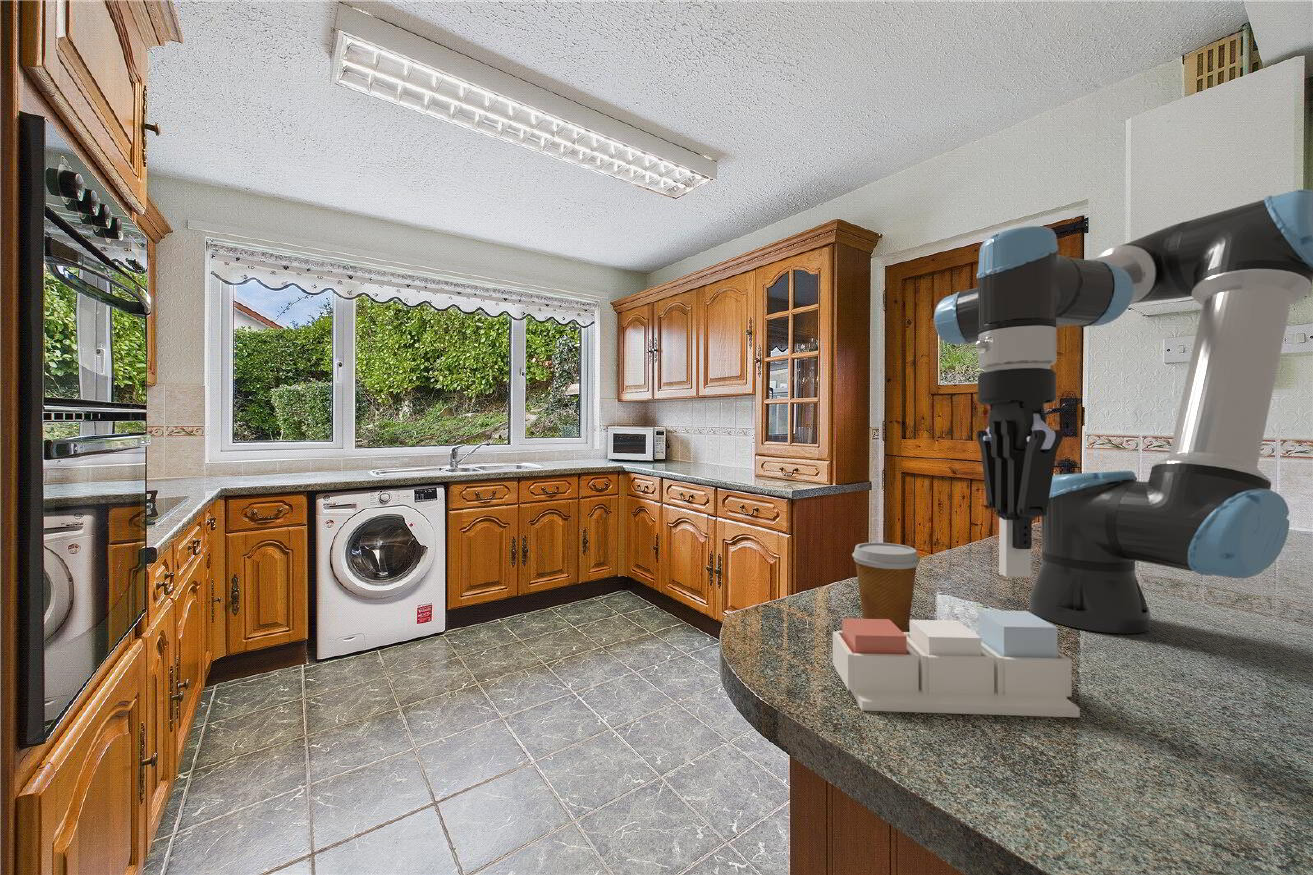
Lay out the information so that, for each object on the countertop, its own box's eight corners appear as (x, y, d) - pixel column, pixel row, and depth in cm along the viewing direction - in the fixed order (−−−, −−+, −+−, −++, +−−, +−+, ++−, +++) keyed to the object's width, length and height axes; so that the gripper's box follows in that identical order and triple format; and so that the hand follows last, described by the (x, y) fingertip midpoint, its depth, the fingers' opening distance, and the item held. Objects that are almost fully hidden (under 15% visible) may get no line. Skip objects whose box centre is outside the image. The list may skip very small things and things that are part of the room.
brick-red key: (889, 652, 67) (889, 619, 67) (906, 672, 61) (906, 636, 61) (842, 650, 67) (842, 618, 67) (855, 670, 62) (855, 635, 62)
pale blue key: (1026, 644, 66) (1026, 611, 66) (1057, 664, 60) (1057, 627, 60) (978, 643, 66) (978, 610, 66) (1003, 662, 60) (1004, 626, 60)
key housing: (1020, 668, 69) (1020, 628, 69) (1087, 717, 57) (1087, 669, 57) (828, 663, 71) (827, 624, 71) (854, 710, 59) (854, 663, 59)
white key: (957, 653, 66) (957, 620, 66) (981, 674, 61) (981, 638, 61) (909, 652, 67) (909, 619, 67) (929, 672, 61) (928, 636, 61)
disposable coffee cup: (928, 640, 78) (927, 556, 78) (857, 636, 80) (857, 553, 80) (911, 618, 87) (910, 543, 87) (848, 614, 89) (848, 541, 89)
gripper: (955, 375, 69) (954, 561, 70) (1014, 362, 57) (1013, 591, 57) (1017, 375, 69) (1016, 562, 69) (1091, 361, 56) (1089, 592, 56)
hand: (1014, 575), depth 63 cm, fingers closed
